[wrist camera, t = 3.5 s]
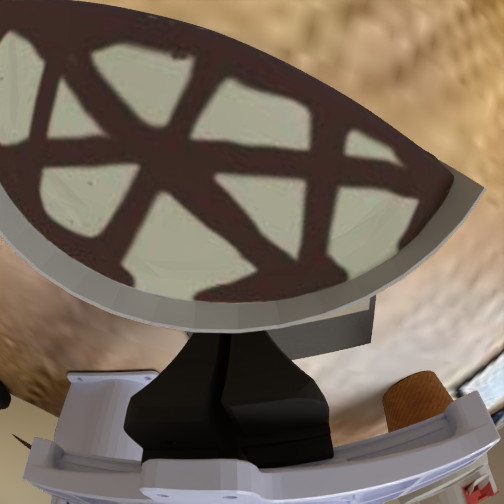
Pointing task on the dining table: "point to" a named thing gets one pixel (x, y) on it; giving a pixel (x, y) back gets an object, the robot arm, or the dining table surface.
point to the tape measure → (4, 398)
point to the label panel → (327, 332)
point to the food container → (202, 174)
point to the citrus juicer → (467, 490)
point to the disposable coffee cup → (419, 409)
